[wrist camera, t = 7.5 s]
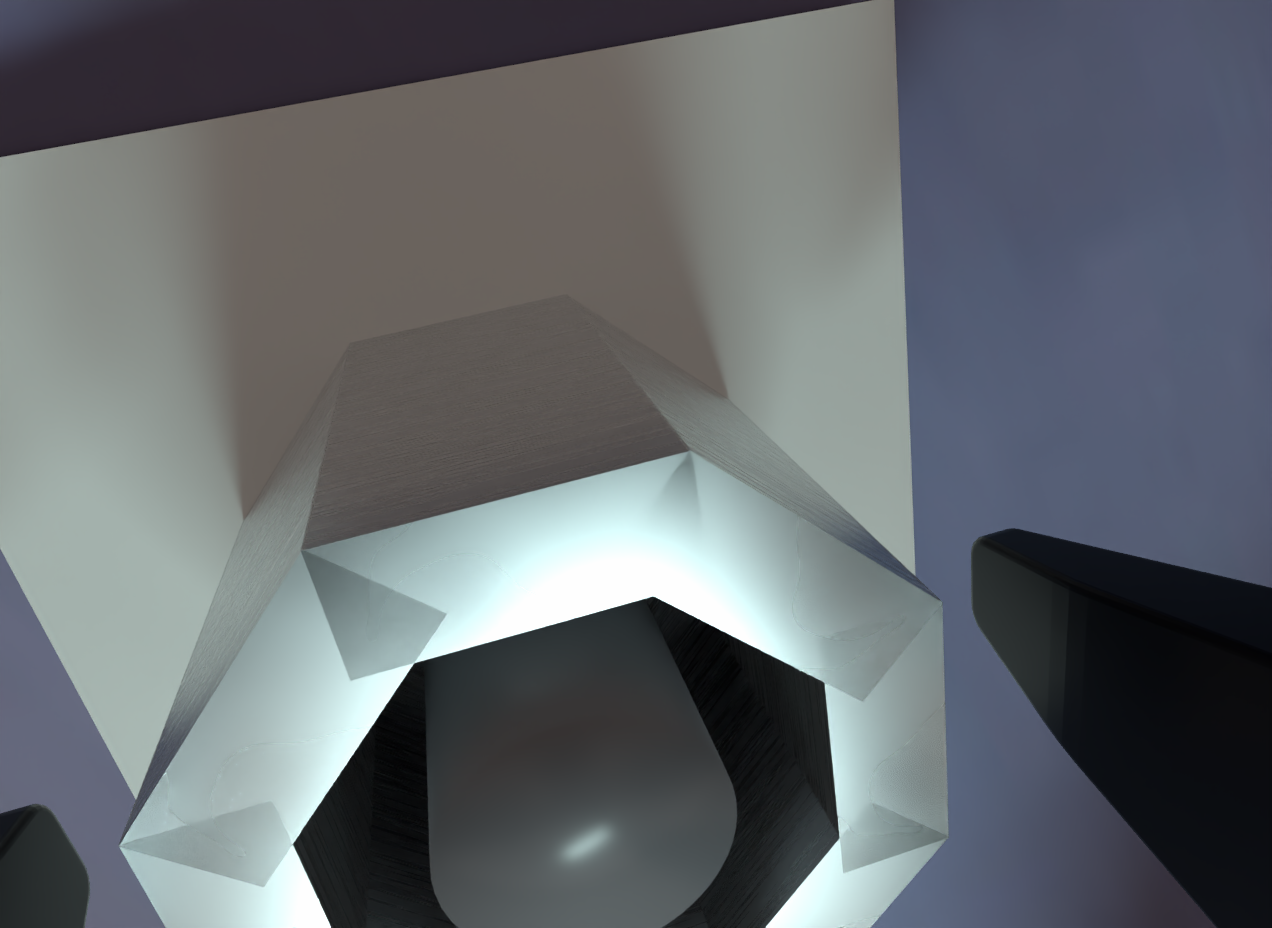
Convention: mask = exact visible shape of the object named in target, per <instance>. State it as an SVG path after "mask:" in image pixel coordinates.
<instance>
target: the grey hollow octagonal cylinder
mask: <svg viewBox="0 0 1272 928" xmlns="http://www.w3.org/2000/svg"><path fill="white" fill-rule="evenodd" d="M645 598H648V599H647V603H648V605H649V608H650V610H651V612H652V614H653V616H654V618H655V620H656V622H657V624H658V627H659V629H660V631H661V633H662V635H663V637H664V639H665V641H666V644H667V646H668V648H669V650H670V652H671V654H672V656H673V658H674V661H675V663H676V665H677V667H678V669H679V671H680V673H681V675H682V678H683V680H684V682H685V684H686V686H687V688H688V690H689V692H690V694H691V697H692V699H693V701H694V703H695V705H696V707H697V709H698V711H699V714H700V716H701V718H702V720H703V722H704V724H705V726H706V728H707V731H708V733H709V735H710V737H711V739H712V741H713V743H714V745H715V748H716V750H717V752H718V754H719V756H720V758H721V760H722V762H723V765H724V767H725V769H726V771H727V773H728V775H729V778H730V780H731V782H732V784H733V788H734V792H735V796H736V803H737V822H736V831H735V835H734V839H733V843H732V846H731V848H730V851H729V853H728V856H727V858H726V860H725V862H724V864H723V866H722V867H721V869H720V871H719V873H718V874H717V876H716V877H715V879H714V880H713V881H712V883H711V884H710V885H709V887H708V888H707V889H706V890H705V891H704V892H703V894H702V895H701V896H700V897H699V898H698V899H697V900H696V901H695V902H694V903H693V904H692V905H691V906H690V907H689V908H687V909H686V910H685V911H684V912H683V913H682V914H680V915H679V916H678V917H676V918H675V919H674V920H672V921H671V922H670V923H668V924H667V925H665V926H663V927H662V928H870V927H871V926H872V925H873V924H874V923H875V922H876V920H877V919H878V918H879V917H880V916H881V915H882V913H883V912H884V911H885V910H886V909H887V908H888V907H889V905H890V904H891V903H892V902H893V901H894V900H895V898H896V897H897V896H898V895H899V894H900V893H901V892H902V890H903V889H904V888H905V887H906V886H907V885H908V883H909V882H910V881H911V880H912V879H913V878H914V877H915V875H916V874H917V873H918V872H919V871H920V870H921V868H922V867H923V866H924V865H925V864H926V863H927V862H928V860H929V859H930V858H931V857H932V856H933V855H934V853H935V852H936V851H937V850H938V849H939V848H940V847H941V845H942V844H943V843H944V842H945V841H946V840H947V838H949V834H948V797H947V759H946V722H945V685H944V647H943V610H942V603H943V602H942V601H941V600H940V599H939V598H938V597H937V596H936V595H935V594H934V593H933V592H932V591H930V590H929V589H928V588H927V587H926V586H925V585H924V584H923V583H922V582H921V581H920V580H919V579H918V578H917V577H916V576H915V575H914V574H913V573H912V572H910V571H909V570H908V569H907V568H906V567H905V566H904V565H903V564H902V563H901V562H900V561H899V560H898V559H897V558H896V557H895V556H894V555H893V554H892V553H890V552H889V551H888V550H887V549H886V548H885V547H884V546H883V545H882V544H881V543H880V542H879V541H878V540H877V539H876V538H875V537H874V536H873V535H872V534H870V533H869V532H868V531H867V530H866V529H865V528H864V527H863V526H862V525H861V524H860V523H859V522H858V521H857V520H856V519H855V518H854V517H853V516H852V515H850V514H849V513H848V512H847V511H846V510H845V509H844V508H843V507H842V506H841V505H840V504H839V503H838V502H837V501H836V500H835V499H834V498H833V497H832V496H830V495H829V494H828V493H827V492H826V491H825V490H824V489H823V488H822V487H821V486H820V485H819V484H818V483H817V482H816V481H815V480H814V479H813V478H811V477H810V476H809V475H808V474H807V473H806V472H805V471H804V470H803V469H802V468H801V467H800V466H799V465H798V464H797V463H796V462H795V461H794V460H793V459H791V458H790V457H789V456H788V455H787V454H786V453H785V452H784V451H783V450H782V449H781V448H780V447H779V446H778V445H777V444H776V443H775V442H774V441H773V440H771V439H770V438H769V437H768V436H767V435H766V434H765V433H764V432H763V431H762V430H761V429H760V428H759V427H758V426H757V425H756V424H755V423H754V422H753V421H751V420H750V419H749V418H748V417H747V416H746V415H745V414H744V413H743V412H742V411H741V410H740V409H739V408H738V407H737V406H736V405H735V404H734V403H733V402H731V401H730V400H729V399H728V398H726V397H725V396H723V395H721V394H720V393H718V392H717V391H715V390H714V389H712V388H711V387H709V386H708V385H706V384H704V383H703V382H701V381H700V380H698V379H697V378H695V377H694V376H692V375H691V374H689V373H687V372H686V371H684V370H683V369H681V368H680V367H678V366H677V365H675V364H673V363H672V362H670V361H669V360H667V359H666V358H664V357H663V356H661V355H660V354H658V353H656V352H655V351H653V350H652V349H650V348H649V347H647V346H646V345H644V344H643V343H641V342H639V341H638V340H636V339H635V338H633V337H632V336H630V335H629V334H627V333H625V332H624V331H622V330H621V329H619V328H618V327H616V326H615V325H613V324H612V323H610V322H608V321H607V320H605V319H604V318H602V317H601V316H599V315H598V314H596V313H595V312H593V311H591V310H590V309H588V308H587V307H585V306H584V305H582V304H581V303H579V302H577V301H576V300H574V299H573V298H571V297H570V296H568V295H567V294H564V295H560V296H556V297H551V298H547V299H542V300H538V301H533V302H529V303H525V304H520V305H516V306H511V307H507V308H502V309H498V310H493V311H489V312H485V313H480V314H476V315H471V316H467V317H462V318H458V319H453V320H449V321H445V322H440V323H436V324H431V325H427V326H422V327H418V328H413V329H409V330H405V331H400V332H396V333H391V334H387V335H382V336H378V337H373V338H369V339H365V340H360V341H356V342H350V343H349V345H348V347H347V348H346V350H345V352H344V353H343V355H342V357H341V358H340V360H339V362H338V363H337V365H336V367H335V368H334V370H333V372H332V373H331V375H330V377H329V378H328V380H327V382H326V384H325V385H324V387H323V389H322V390H321V392H320V394H319V395H318V397H317V399H316V400H315V402H314V404H313V405H312V407H311V409H310V410H309V412H308V414H307V415H306V417H305V419H304V420H303V422H302V424H301V425H300V427H299V429H298V430H297V432H296V434H295V435H294V437H293V439H292V440H291V442H290V444H289V445H288V447H287V449H286V450H285V452H284V454H283V455H282V457H281V459H280V460H279V462H278V464H277V465H276V467H275V469H274V470H273V472H272V474H271V475H270V477H269V479H268V480H267V482H266V484H265V485H264V487H263V489H262V491H261V492H260V494H259V496H258V497H257V499H256V501H255V502H254V504H253V506H252V507H251V509H250V511H249V512H248V514H247V516H246V517H245V519H244V520H243V523H242V525H241V528H240V530H239V533H238V536H237V538H236V541H235V543H234V546H233V549H232V551H231V554H230V556H229V559H228V562H227V564H226V567H225V569H224V572H223V575H222V577H221V580H220V582H219V585H218V588H217V590H216V593H215V596H214V598H213V601H212V603H211V606H210V609H209V611H208V614H207V616H206V619H205V622H204V624H203V627H202V629H201V632H200V635H199V637H198V640H197V642H196V645H195V648H194V650H193V653H192V655H191V658H190V661H189V663H188V666H187V668H186V671H185V674H184V676H183V679H182V681H181V684H180V687H179V689H178V692H177V694H176V697H175V700H174V702H173V705H172V707H171V710H170V713H169V715H168V718H167V720H166V723H165V726H164V728H163V731H162V733H161V736H160V739H159V741H158V744H157V746H156V749H155V752H154V754H153V757H152V759H151V762H150V765H149V767H148V770H147V772H146V775H145V778H144V780H143V783H142V785H141V788H140V791H139V793H138V796H137V798H136V801H135V804H134V806H133V809H132V811H131V814H130V817H129V819H128V822H127V824H126V827H125V830H124V832H123V835H122V837H121V840H120V843H119V847H120V849H121V850H122V852H123V854H124V856H125V857H126V859H127V861H128V863H129V864H130V866H131V868H132V870H133V871H134V873H135V875H136V877H137V878H138V880H139V882H140V884H141V885H142V887H143V889H144V890H145V892H146V894H147V896H148V897H149V899H150V901H151V903H152V904H153V906H154V908H155V910H156V911H157V913H158V915H159V917H160V918H161V920H162V922H163V924H164V925H165V927H166V928H458V927H457V926H456V925H455V924H454V923H453V922H452V921H451V920H450V919H449V918H448V916H447V915H446V913H445V912H444V911H443V909H442V908H441V906H440V904H439V902H438V899H437V897H436V895H435V892H434V889H433V885H432V881H431V873H430V857H429V823H428V788H427V754H426V719H425V685H424V660H427V659H431V658H434V657H438V656H442V655H445V654H449V653H452V652H456V651H459V650H463V649H467V648H470V647H474V646H477V645H481V644H484V643H488V642H492V641H495V640H499V639H502V638H506V637H509V636H513V635H517V634H520V633H524V632H527V631H531V630H534V629H538V628H542V627H545V626H549V625H552V624H556V623H559V622H563V621H567V620H570V619H574V618H577V617H581V616H584V615H588V614H591V613H595V612H599V611H602V610H606V609H609V608H613V607H616V606H620V605H624V604H627V603H631V602H634V601H638V600H641V599H645Z"/></svg>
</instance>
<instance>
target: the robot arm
mask: <svg viewBox="0 0 1272 928" xmlns="http://www.w3.org/2000/svg"><path fill="white" fill-rule="evenodd" d="M971 603H972V610H973V615H974V618H975V620H976V623H977V625H978V627H979V628H980V630H981V632H982V633H983V634H984V636H985V637H986V639H987V640H988V642H989V643H990V645H991V646H992V647H993V649H994V650H995V652H996V653H997V655H998V656H999V658H1000V659H1001V660H1002V662H1003V663H1004V665H1005V666H1006V668H1007V669H1008V671H1009V672H1010V673H1011V675H1012V676H1013V678H1014V679H1015V681H1016V682H1017V684H1018V685H1019V686H1020V688H1021V689H1022V691H1023V692H1024V694H1025V695H1026V697H1027V698H1028V699H1029V701H1030V702H1031V704H1032V705H1033V707H1034V708H1035V710H1036V711H1037V712H1038V714H1039V715H1040V717H1041V718H1042V720H1043V721H1044V723H1045V724H1046V725H1047V727H1048V728H1049V730H1050V731H1051V732H1052V734H1053V735H1054V736H1055V738H1056V739H1057V740H1058V742H1059V743H1060V744H1061V746H1062V747H1063V748H1064V749H1065V751H1066V752H1067V753H1068V754H1069V756H1070V757H1071V758H1072V759H1073V760H1074V762H1075V763H1076V764H1077V765H1078V766H1079V768H1080V769H1081V770H1082V771H1083V772H1084V773H1085V775H1086V776H1087V777H1088V778H1089V779H1090V780H1091V782H1092V783H1093V784H1094V785H1095V786H1096V787H1097V789H1098V790H1099V791H1100V792H1101V793H1102V794H1103V796H1104V797H1105V798H1106V799H1107V800H1108V801H1109V803H1110V804H1111V805H1112V806H1113V807H1114V808H1115V810H1116V811H1117V812H1118V813H1119V814H1120V815H1121V817H1122V818H1123V819H1124V820H1125V821H1126V822H1127V824H1128V825H1129V826H1130V827H1131V828H1132V829H1133V831H1134V832H1135V833H1136V834H1137V835H1138V836H1139V838H1140V839H1141V840H1142V841H1143V842H1144V843H1145V845H1146V846H1147V847H1148V848H1149V849H1150V850H1151V852H1152V853H1153V854H1154V855H1155V856H1156V857H1157V859H1158V860H1159V861H1160V862H1161V863H1162V864H1163V866H1164V867H1165V868H1166V869H1167V870H1168V871H1169V873H1170V874H1171V875H1172V876H1173V877H1174V878H1175V880H1176V881H1177V882H1178V883H1179V884H1180V885H1181V886H1182V888H1183V889H1184V890H1185V891H1186V892H1187V893H1188V895H1189V896H1190V897H1191V898H1192V899H1193V900H1194V902H1195V903H1196V904H1197V905H1198V906H1199V907H1200V909H1201V910H1202V911H1203V912H1204V913H1205V914H1206V916H1207V917H1208V918H1209V919H1210V920H1211V921H1212V923H1213V924H1214V925H1215V926H1216V927H1217V928H1272V588H1270V587H1266V586H1262V585H1257V584H1253V583H1249V582H1244V581H1240V580H1236V579H1231V578H1227V577H1223V576H1218V575H1214V574H1210V573H1206V572H1201V571H1197V570H1193V569H1188V568H1184V567H1180V566H1175V565H1171V564H1167V563H1162V562H1158V561H1154V560H1149V559H1145V558H1141V557H1137V556H1132V555H1128V554H1124V553H1119V552H1115V551H1111V550H1106V549H1102V548H1098V547H1093V546H1089V545H1085V544H1080V543H1076V542H1072V541H1068V540H1063V539H1059V538H1055V537H1050V536H1046V535H1042V534H1037V533H1033V532H1029V531H1024V530H1020V529H1015V528H1013V529H1006V530H1002V531H999V532H995V533H992V534H988V535H985V536H981V537H979V538H978V539H977V540H976V541H975V542H974V543H973V546H972V551H971ZM89 896H90V882H89V876H88V873H87V869H86V867H85V865H84V863H83V861H82V860H81V858H80V856H79V855H78V853H77V851H76V850H75V848H74V846H73V845H72V843H71V841H70V840H69V838H68V836H67V835H66V833H65V831H64V829H63V828H62V826H61V824H60V823H59V821H58V819H57V818H56V816H55V815H54V813H53V812H52V811H51V810H50V809H49V808H47V807H46V806H44V805H39V804H32V805H29V806H25V807H22V808H18V809H15V810H11V811H7V812H4V813H0V928H85V922H86V915H87V909H88V903H89Z"/></svg>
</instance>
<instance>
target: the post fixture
mask: <svg viewBox="0 0 1272 928" xmlns="http://www.w3.org/2000/svg"><path fill="white" fill-rule="evenodd" d="M564 294H567V295H568V296H570V297H571V298H573V299H574V300H576V301H577V302H579V303H581V304H582V305H584V306H585V307H587V308H588V309H590V310H591V311H593V312H595V313H596V314H598V315H599V316H601V317H602V318H604V319H605V320H607V321H608V322H610V323H612V324H613V325H615V326H616V327H618V328H619V329H621V330H622V331H624V332H625V333H627V334H629V335H630V336H632V337H633V338H635V339H636V340H638V341H639V342H641V343H643V344H644V345H646V346H647V347H649V348H650V349H652V350H653V351H655V352H656V353H658V354H660V355H661V356H663V357H664V358H666V359H667V360H669V361H670V362H672V363H673V364H675V365H677V366H678V367H680V368H681V369H683V370H684V371H686V372H687V373H689V374H691V375H692V376H694V377H695V378H697V379H698V380H700V381H701V382H703V383H704V384H706V385H708V386H709V387H711V388H712V389H714V390H715V391H717V392H718V393H720V394H721V395H723V396H725V397H726V398H728V399H729V400H730V401H731V402H733V403H734V404H735V405H736V406H737V407H738V408H739V409H740V410H741V411H742V412H743V413H744V414H745V415H746V416H747V417H748V418H749V419H750V420H751V421H753V422H754V423H755V424H756V425H757V426H758V427H759V428H760V429H761V430H762V431H763V432H764V433H765V434H766V435H767V436H768V437H769V438H770V439H771V440H773V441H774V442H775V443H776V444H777V445H778V446H779V447H780V448H781V449H782V450H783V451H784V452H785V453H786V454H787V455H788V456H789V457H790V458H791V459H793V460H794V461H795V462H796V463H797V464H798V465H799V466H800V467H801V468H802V469H803V470H804V471H805V472H806V473H807V474H808V475H809V476H810V477H811V478H813V479H814V480H815V481H816V482H817V483H818V484H819V485H820V486H821V487H822V488H823V489H824V490H825V491H826V492H827V493H828V494H829V495H830V496H832V497H833V498H834V499H835V500H836V501H837V502H838V503H839V504H840V505H841V506H842V507H843V508H844V509H845V510H846V511H847V512H848V513H849V514H850V515H852V516H853V517H854V518H855V519H856V520H857V521H858V522H859V523H860V524H861V525H862V526H863V527H864V528H865V529H866V530H867V531H868V532H869V533H870V534H872V535H873V536H874V537H875V538H876V539H877V540H878V541H879V542H880V543H881V544H882V545H883V546H884V547H885V548H886V549H887V550H888V551H889V552H890V553H892V554H893V555H894V556H895V557H896V558H897V559H898V560H899V561H900V562H901V563H902V564H903V565H904V566H905V567H906V568H907V569H908V570H909V571H910V572H912V573H913V574H914V575H915V553H914V526H913V499H912V472H911V445H910V418H909V391H908V364H907V337H906V310H905V282H904V255H903V228H902V201H901V174H900V147H899V120H898V93H897V66H896V39H895V12H894V0H872V1H866V2H860V3H855V4H849V5H844V6H838V7H833V8H827V9H822V10H816V11H810V12H805V13H799V14H794V15H788V16H783V17H777V18H772V19H766V20H760V21H755V22H749V23H744V24H738V25H733V26H727V27H722V28H716V29H710V30H705V31H699V32H694V33H688V34H683V35H677V36H672V37H666V38H660V39H655V40H649V41H644V42H638V43H633V44H627V45H622V46H616V47H611V48H605V49H599V50H594V51H588V52H583V53H577V54H572V55H566V56H561V57H555V58H549V59H544V60H538V61H533V62H527V63H522V64H516V65H511V66H505V67H499V68H494V69H488V70H483V71H477V72H472V73H466V74H461V75H455V76H449V77H444V78H438V79H433V80H427V81H422V82H416V83H411V84H405V85H399V86H394V87H388V88H383V89H377V90H372V91H366V92H361V93H355V94H349V95H344V96H338V97H333V98H327V99H322V100H316V101H311V102H305V103H299V104H294V105H288V106H283V107H277V108H272V109H266V110H261V111H255V112H249V113H244V114H238V115H233V116H227V117H222V118H216V119H211V120H205V121H200V122H194V123H188V124H183V125H177V126H172V127H166V128H161V129H155V130H150V131H144V132H138V133H133V134H127V135H122V136H116V137H111V138H105V139H100V140H94V141H88V142H83V143H77V144H72V145H66V146H61V147H55V148H50V149H44V150H38V151H33V152H27V153H22V154H16V155H11V156H5V157H0V549H1V551H2V553H3V554H4V556H5V558H6V560H7V562H8V564H9V566H10V567H11V569H12V571H13V573H14V575H15V577H16V578H17V580H18V582H19V584H20V586H21V588H22V590H23V591H24V593H25V595H26V597H27V599H28V601H29V603H30V604H31V606H32V608H33V610H34V612H35V614H36V616H37V617H38V619H39V621H40V623H41V625H42V627H43V628H44V630H45V632H46V634H47V636H48V638H49V640H50V641H51V643H52V645H53V647H54V649H55V651H56V653H57V654H58V656H59V658H60V660H61V662H62V664H63V666H64V667H65V669H66V671H67V673H68V675H69V677H70V678H71V680H72V682H73V684H74V686H75V688H76V690H77V691H78V693H79V695H80V697H81V699H82V701H83V703H84V704H85V706H86V708H87V710H88V712H89V714H90V716H91V717H92V719H93V721H94V723H95V725H96V727H97V728H98V730H99V732H100V734H101V736H102V738H103V740H104V741H105V743H106V745H107V747H108V749H109V751H110V753H111V754H112V756H113V758H114V760H115V762H116V764H117V766H118V767H119V769H120V771H121V773H122V775H123V777H124V778H125V780H126V782H127V784H128V786H129V788H130V790H131V791H132V793H133V795H134V797H135V799H136V798H137V796H138V793H139V791H140V788H141V785H142V783H143V780H144V778H145V775H146V772H147V770H148V767H149V765H150V762H151V759H152V757H153V754H154V752H155V749H156V746H157V744H158V741H159V739H160V736H161V733H162V731H163V728H164V726H165V723H166V720H167V718H168V715H169V713H170V710H171V707H172V705H173V702H174V700H175V697H176V694H177V692H178V689H179V687H180V684H181V681H182V679H183V676H184V674H185V671H186V668H187V666H188V663H189V661H190V658H191V655H192V653H193V650H194V648H195V645H196V642H197V640H198V637H199V635H200V632H201V629H202V627H203V624H204V622H205V619H206V616H207V614H208V611H209V609H210V606H211V603H212V601H213V598H214V596H215V593H216V590H217V588H218V585H219V582H220V580H221V577H222V575H223V572H224V569H225V567H226V564H227V562H228V559H229V556H230V554H231V551H232V549H233V546H234V543H235V541H236V538H237V536H238V533H239V530H240V528H241V525H242V523H243V520H244V519H245V517H246V516H247V514H248V512H249V511H250V509H251V507H252V506H253V504H254V502H255V501H256V499H257V497H258V496H259V494H260V492H261V491H262V489H263V487H264V485H265V484H266V482H267V480H268V479H269V477H270V475H271V474H272V472H273V470H274V469H275V467H276V465H277V464H278V462H279V460H280V459H281V457H282V455H283V454H284V452H285V450H286V449H287V447H288V445H289V444H290V442H291V440H292V439H293V437H294V435H295V434H296V432H297V430H298V429H299V427H300V425H301V424H302V422H303V420H304V419H305V417H306V415H307V414H308V412H309V410H310V409H311V407H312V405H313V404H314V402H315V400H316V399H317V397H318V395H319V394H320V392H321V390H322V389H323V387H324V385H325V384H326V382H327V380H328V378H329V377H330V375H331V373H332V372H333V370H334V368H335V367H336V365H337V363H338V362H339V360H340V358H341V357H342V355H343V353H344V352H345V350H346V348H347V347H348V345H349V343H350V342H356V341H360V340H365V339H369V338H373V337H378V336H382V335H387V334H391V333H396V332H400V331H405V330H409V329H413V328H418V327H422V326H427V325H431V324H436V323H440V322H445V321H449V320H453V319H458V318H462V317H467V316H471V315H476V314H480V313H485V312H489V311H493V310H498V309H502V308H507V307H511V306H516V305H520V304H525V303H529V302H533V301H538V300H542V299H547V298H551V297H556V296H560V295H564ZM647 599H648V598H645V599H641V600H638V601H634V602H631V603H627V604H624V605H620V606H616V607H613V608H609V609H606V610H602V611H599V612H595V613H591V614H588V615H584V616H581V617H577V618H574V619H570V620H567V621H563V622H559V623H556V624H552V625H549V626H545V627H542V628H538V629H534V630H531V631H527V632H524V633H520V634H517V635H513V636H509V637H506V638H502V639H499V640H495V641H492V642H488V643H484V644H481V645H477V646H474V647H470V648H467V649H463V650H459V651H456V652H452V653H449V654H445V655H442V656H438V657H434V658H431V659H427V660H424V685H425V719H426V754H427V788H428V823H429V857H430V873H431V881H432V885H433V889H434V892H435V895H436V897H437V899H438V902H439V904H440V906H441V908H442V909H443V911H444V912H445V913H446V915H447V916H448V918H449V919H450V920H451V921H452V922H453V923H454V924H455V925H456V926H457V927H458V928H662V927H663V926H665V925H667V924H668V923H670V922H671V921H672V920H674V919H675V918H676V917H678V916H679V915H680V914H682V913H683V912H684V911H685V910H686V909H687V908H689V907H690V906H691V905H692V904H693V903H694V902H695V901H696V900H697V899H698V898H699V897H700V896H701V895H702V894H703V892H704V891H705V890H706V889H707V888H708V887H709V885H710V884H711V883H712V881H713V880H714V879H715V877H716V876H717V874H718V873H719V871H720V869H721V867H722V866H723V864H724V862H725V860H726V858H727V856H728V853H729V851H730V848H731V846H732V843H733V839H734V835H735V831H736V822H737V803H736V796H735V792H734V788H733V784H732V782H731V780H730V778H729V775H728V773H727V771H726V769H725V767H724V765H723V762H722V760H721V758H720V756H719V754H718V752H717V750H716V748H715V745H714V743H713V741H712V739H711V737H710V735H709V733H708V731H707V728H706V726H705V724H704V722H703V720H702V718H701V716H700V714H699V711H698V709H697V707H696V705H695V703H694V701H693V699H692V697H691V694H690V692H689V690H688V688H687V686H686V684H685V682H684V680H683V678H682V675H681V673H680V671H679V669H678V667H677V665H676V663H675V661H674V658H673V656H672V654H671V652H670V650H669V648H668V646H667V644H666V641H665V639H664V637H663V635H662V633H661V631H660V629H659V627H658V624H657V622H656V620H655V618H654V616H653V614H652V612H651V610H650V608H649V605H648V603H647Z"/></svg>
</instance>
